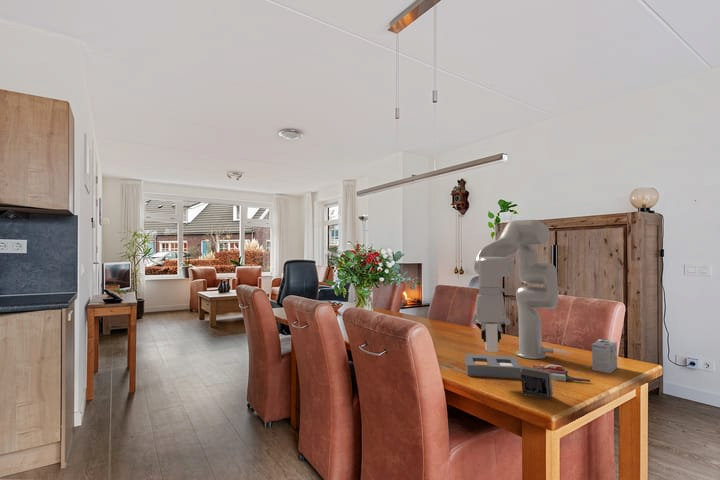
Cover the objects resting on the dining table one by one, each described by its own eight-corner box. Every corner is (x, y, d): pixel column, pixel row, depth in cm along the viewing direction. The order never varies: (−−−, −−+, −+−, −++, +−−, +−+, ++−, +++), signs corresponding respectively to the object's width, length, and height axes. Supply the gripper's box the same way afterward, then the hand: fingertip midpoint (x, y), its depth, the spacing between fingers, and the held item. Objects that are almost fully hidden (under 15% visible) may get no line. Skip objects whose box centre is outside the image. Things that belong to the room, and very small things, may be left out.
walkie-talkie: (529, 378, 143) (591, 385, 135) (529, 366, 143) (590, 373, 135) (529, 371, 151) (587, 378, 143) (529, 360, 151) (587, 366, 143)
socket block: (514, 366, 157) (514, 355, 157) (522, 378, 141) (522, 367, 142) (465, 363, 161) (464, 353, 161) (467, 375, 146) (467, 364, 146)
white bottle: (496, 348, 139) (495, 316, 140) (498, 351, 136) (497, 318, 136) (485, 348, 140) (484, 316, 140) (486, 351, 136) (485, 318, 137)
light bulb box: (599, 364, 159) (598, 338, 159) (618, 367, 154) (617, 341, 154) (591, 370, 151) (591, 343, 151) (611, 373, 146) (610, 346, 147)
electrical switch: (553, 396, 124) (551, 369, 124) (549, 403, 120) (548, 374, 119) (523, 390, 130) (522, 364, 129) (519, 396, 126) (517, 369, 125)
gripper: (512, 290, 140) (513, 339, 140) (465, 290, 144) (466, 338, 143) (516, 292, 133) (517, 344, 133) (466, 292, 136) (468, 343, 136)
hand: (491, 340), depth 138 cm, fingers closed on white bottle, 4 cm apart
